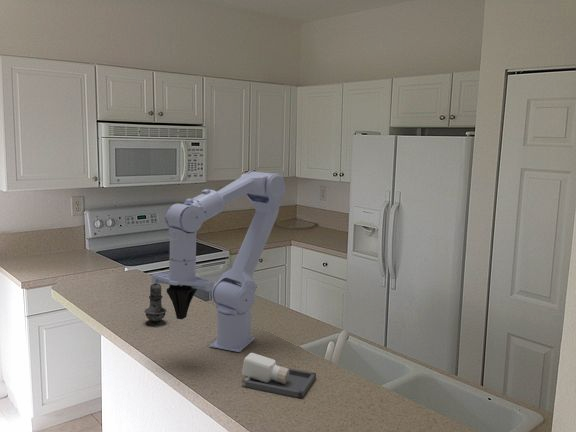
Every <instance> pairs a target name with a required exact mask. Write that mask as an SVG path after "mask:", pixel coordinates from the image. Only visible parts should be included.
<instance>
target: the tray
mask: <svg viewBox="0 0 576 432" xmlns="http://www.w3.org/2000/svg"><path fill="white" fill-rule="evenodd" d="M280 367H281V366H280ZM284 367H285V368H288V369H289V376H288V379H287V382H286V383H285V384H282V383H279V382H276V381H275V380H271V381H270V382H268V383H266V382H263V381H260V380H257V379H254V378H251V377H248V376H246V377H245V378H244V379H243V380H242V381H241V387H242V388H249V389H253V390H258V391H260V392H261V391H263V392H268V393H272V394H275V395H276V394H277V395H281V396H286V397H291V398H295V397H296V398H295V399H300V398H301V400H302V399H304V397H303V396H305V395H306V394H307V392H308V391H309V390H310V388H311V386H313V383H314V382H315V380H316V379H317V372H311V371H307V370H301V369H295V368H291V367H286V366H284Z"/></svg>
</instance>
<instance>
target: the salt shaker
mask: <svg viewBox="0 0 576 432" xmlns="http://www.w3.org/2000/svg"><path fill="white" fill-rule="evenodd" d="M149 289H150V290H149V292H150V293H149V296H148V299H149V307H148V308H146V309H144V312H143V313H144V314H145V316H146V318H147V319H148V320H146V321H145V325H146V326H148V327H151V328H152V327H153V328H154V327H162V326H164V325H166V321H165V320H163V319H164V318H165V316H166V313H167V312H168V311H167V309H166V308H165V307H163V305H162V299H163V297H164V296H163V295H162V285H161V283H151V285H150V287H149Z"/></svg>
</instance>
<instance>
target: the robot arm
mask: <svg viewBox="0 0 576 432" xmlns="http://www.w3.org/2000/svg"><path fill="white" fill-rule="evenodd" d="M286 191H287V187H286V182H285V180H284V177H283V175H281V174H280V173H277V172H275V173H272V172H271V173H270V172H262V171H255V170H249V171H247V172H245V173H242V174H241V175H240V177H238V178H237V179H236V180H233V181H232V182H230V183H229V184H227V185H226V186H224V187H222V188H220V189H219V190H217V191H216V190H214V189H208V188H205V189H203V190H201V194H199V195H196V196H195V197H193V198H186V199H185V201H184V203H174V204H172V205H171V206H170V207H169V208H168V210H167V211H166V215H164V223H165V225H166V226H167V228H168V235H169V259H168V260H169V262H168V263H169V265H168V267H169V272H168V273H160V272H155V273H153V274H151V284H154V283H158V284H160V285H161V284H163V285H169V287H168V288H167V289H166V294H167V295H168V296H169V298H170V300H171V302H172V305H173V308H174V312H175V313H174V314H175V316H176V319H177V320H184V319H185V318H187V315H188V312H189V311H188V310H189V307H190V305H191V302H192V300H193V298H194V295H195V294H196V292H197V290H202V291H205V292H211V299H212V301H213V303H215V308H216V309H217V326H216V330H217V331H216V340H215V341H214V342H212V343H211V344H210V348H215V349H219V350H227V351H231V352H237V353H240V352H242V350H245V348H246V347H248V346H249V344H251V343H252V342H253V341H255V337H254V336H252V318H253V315H252V312H251V308H253V304H254V303H255V298H256V297H255V295H256V291H257V288H258V285H257V283H256V281H255V280H254V277H253V276H254V274H255V271H256V269H257V266H258V264H259V261H260V259H261V256H262V254H263V251H264V250H265V249H264V248H265V246H266V244H267V242H268V239H269V237H270V236H271V232H272V229H273V228H274V225H275V222H276V220H277V217H278V215H279V213H280V207H281V203H282V201H283V199H284V196H285V194H286ZM243 196H246V197H247V199H248V200H249V202H250V204H251V206H252V207H253V208H254V209H255V213H254V215H253V218H252V219H251V222H250V225H249V227H248V229H247V231H246V234H245V236H244V239H243V241H242V243H241V245H240V248H239V251H238V252H237V255H236V258H235V259H234V262H233V265H232V266H231V268H230V269H228V270H226V271H224V272H223V273H221V276H220V277H219V280H218V281H217V282H215V284H214V280H209V279H205V278H202V277H199V276H196V271H197V268H196V267H197V231H199V229H201V228H202V225H203V223H204V222H206V221H207V220H209V219H211V218H213V217H215V216H217V215H218V214H221V213H222V212H223V211H224V207H225V205H226V204H228V203H231V202H232V201H234V200H236V199H240V198H242V197H243Z"/></svg>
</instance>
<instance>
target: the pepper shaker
mask: <svg viewBox="0 0 576 432" xmlns="http://www.w3.org/2000/svg"><path fill="white" fill-rule="evenodd" d="M285 367H286V366H281V367H280V366H279V365H277V362H276V359H273V358H269V357H267V356H264V355H260V354H258V353H255V352H250V353H248V354H247V355H246V356H245V357H244V360H243V364H242V370H241V374H242V375H243V376H246V377H247V376H248V377H251V378H254V379H257V380H260V381H263V382H266V383H268V382H270V381H271V380H275V381H276V382H279V383H282V384H285V383H286V382H287V379H288V376H289V369H288V368H289V367H286V368H285Z"/></svg>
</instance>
